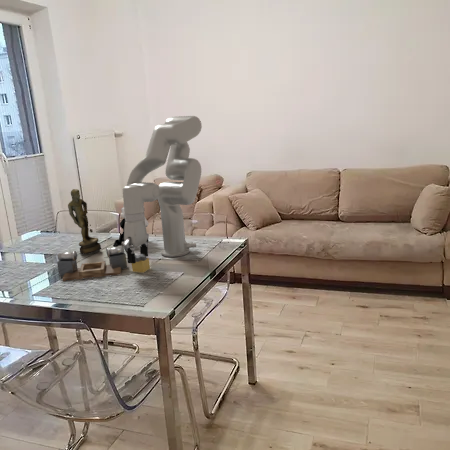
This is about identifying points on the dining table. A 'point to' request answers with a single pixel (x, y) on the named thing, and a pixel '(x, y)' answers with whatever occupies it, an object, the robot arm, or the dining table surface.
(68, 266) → the shaft
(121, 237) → the robot toy
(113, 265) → the shaft
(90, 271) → the bed
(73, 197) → the statue
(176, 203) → the robot arm
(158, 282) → the dining table surface
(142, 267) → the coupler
